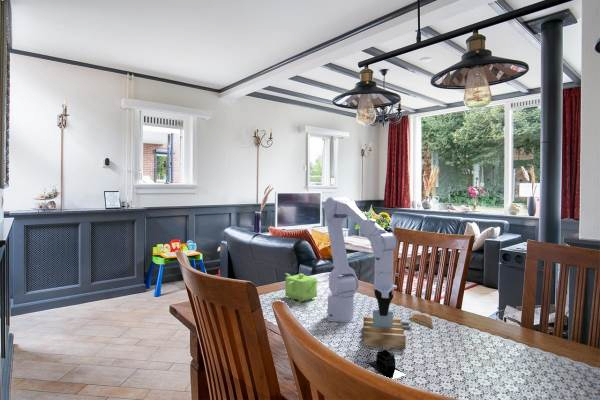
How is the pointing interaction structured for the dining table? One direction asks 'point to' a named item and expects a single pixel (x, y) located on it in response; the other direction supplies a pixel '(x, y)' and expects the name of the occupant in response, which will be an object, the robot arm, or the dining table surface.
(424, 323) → the shard
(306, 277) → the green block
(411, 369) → the dining table surface
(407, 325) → the holder
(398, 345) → the rack
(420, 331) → the dining table surface
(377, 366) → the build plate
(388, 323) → the plate
